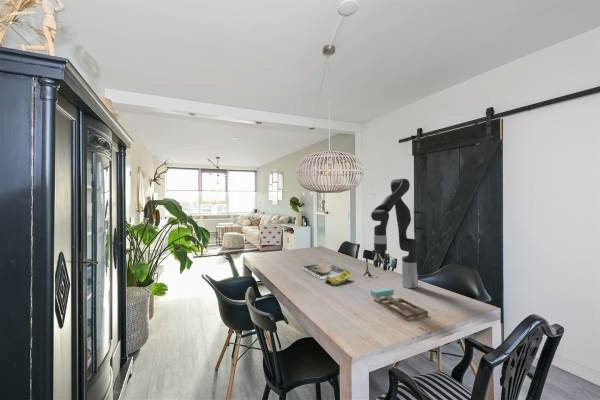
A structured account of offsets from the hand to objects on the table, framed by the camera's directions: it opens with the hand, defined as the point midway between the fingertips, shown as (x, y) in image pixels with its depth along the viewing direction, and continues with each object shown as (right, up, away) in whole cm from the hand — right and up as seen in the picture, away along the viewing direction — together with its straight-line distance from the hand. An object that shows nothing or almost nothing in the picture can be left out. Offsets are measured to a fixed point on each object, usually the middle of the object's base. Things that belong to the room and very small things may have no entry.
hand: (380, 268), depth 163 cm
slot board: (+7, -18, -17) cm, 26 cm away
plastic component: (-20, -19, +34) cm, 44 cm away
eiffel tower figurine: (+4, -19, +48) cm, 52 cm away
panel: (+1, -18, -1) cm, 18 cm away
